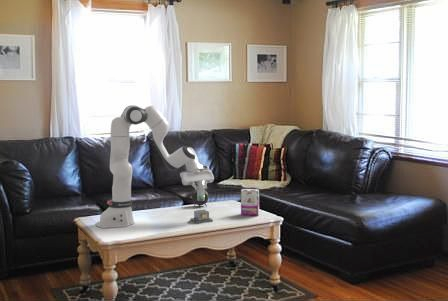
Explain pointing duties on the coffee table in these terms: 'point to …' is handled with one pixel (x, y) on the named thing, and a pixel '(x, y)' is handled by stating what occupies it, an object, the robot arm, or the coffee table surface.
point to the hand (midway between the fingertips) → (201, 188)
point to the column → (201, 190)
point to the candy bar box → (250, 202)
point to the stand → (201, 216)
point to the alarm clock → (195, 199)
